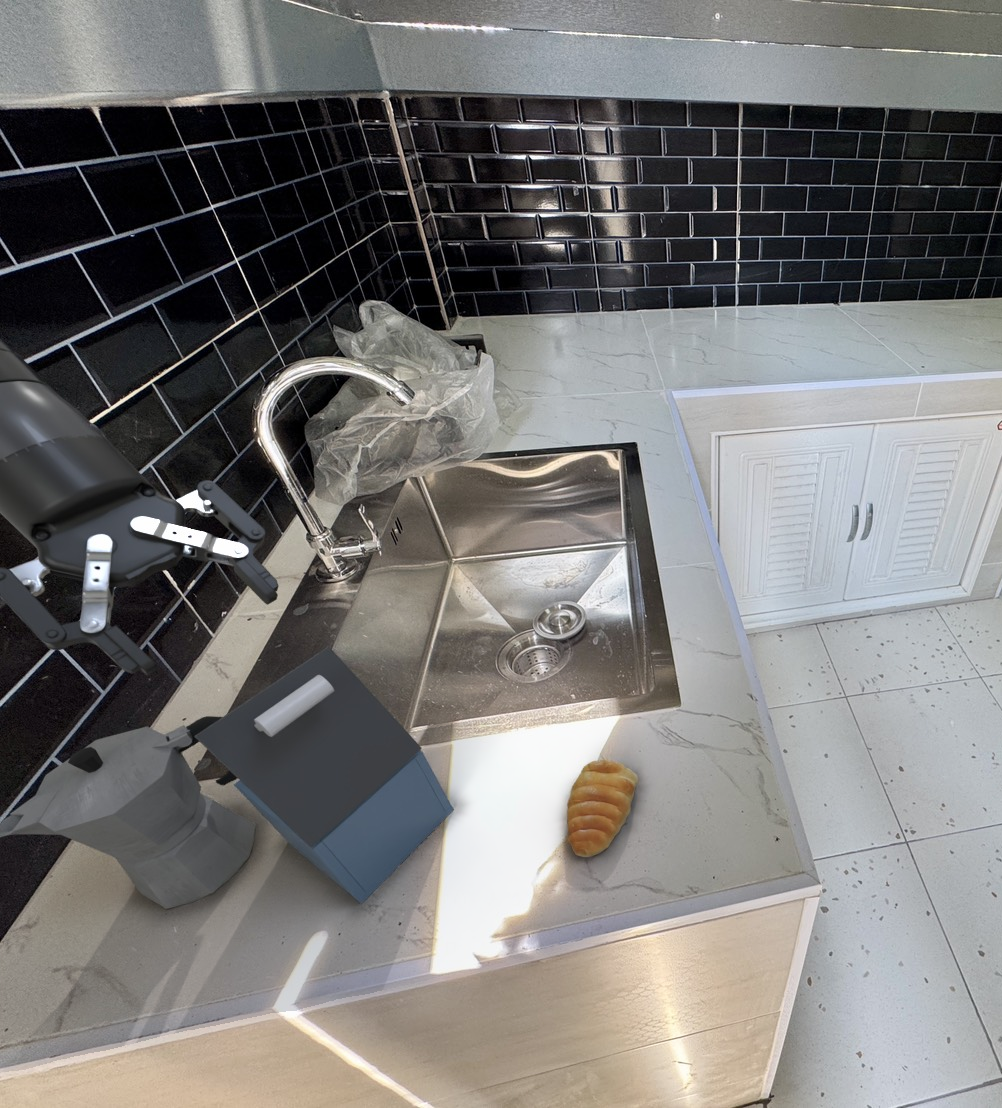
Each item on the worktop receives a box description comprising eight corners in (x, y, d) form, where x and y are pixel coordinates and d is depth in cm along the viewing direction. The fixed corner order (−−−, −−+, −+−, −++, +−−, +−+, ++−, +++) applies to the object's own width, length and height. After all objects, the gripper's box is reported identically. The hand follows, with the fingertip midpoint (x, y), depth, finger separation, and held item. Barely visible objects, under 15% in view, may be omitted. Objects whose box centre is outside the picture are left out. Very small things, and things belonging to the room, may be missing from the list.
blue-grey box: (287, 842, 60) (233, 784, 54) (382, 760, 68) (344, 700, 61) (361, 904, 56) (312, 849, 49) (454, 809, 63) (422, 751, 57)
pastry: (620, 864, 59) (615, 846, 57) (553, 857, 60) (546, 839, 57) (641, 777, 67) (638, 758, 64) (581, 772, 67) (576, 752, 65)
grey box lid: (193, 736, 46) (200, 734, 42) (326, 647, 53) (342, 638, 49) (309, 846, 49) (325, 854, 45) (419, 748, 57) (441, 747, 53)
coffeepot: (124, 952, 53) (-38, 857, 41) (108, 873, 58) (-41, 769, 46) (317, 829, 61) (226, 723, 50) (288, 770, 66) (199, 661, 55)
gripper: (161, 445, 51) (302, 592, 54) (-79, 532, 41) (109, 706, 44) (156, 400, 45) (313, 567, 48) (-121, 488, 36) (97, 690, 39)
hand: (216, 633), depth 46 cm, fingers open, 8 cm apart
